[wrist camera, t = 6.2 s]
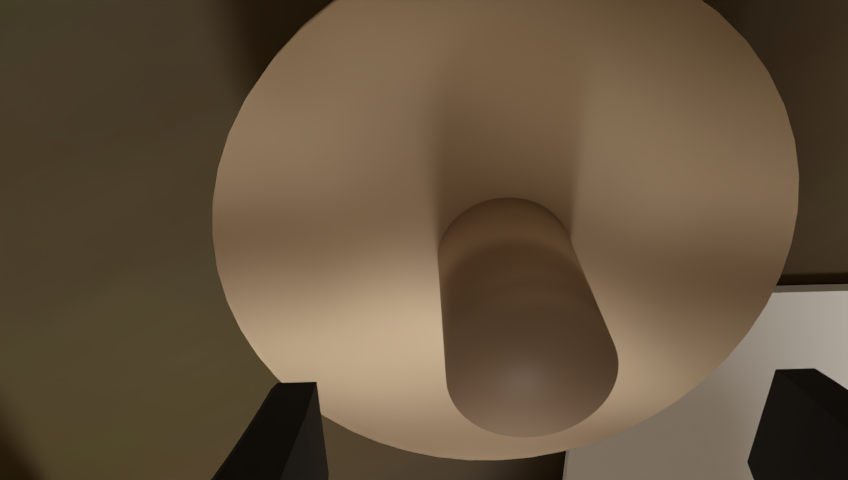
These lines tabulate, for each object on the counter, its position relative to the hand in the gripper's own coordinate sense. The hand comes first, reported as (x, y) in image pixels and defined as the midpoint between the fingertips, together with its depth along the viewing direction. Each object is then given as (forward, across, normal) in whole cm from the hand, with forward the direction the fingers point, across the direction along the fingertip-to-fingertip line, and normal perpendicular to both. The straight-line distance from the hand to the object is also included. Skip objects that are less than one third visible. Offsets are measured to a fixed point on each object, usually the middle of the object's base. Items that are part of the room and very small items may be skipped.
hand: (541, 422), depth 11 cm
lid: (+6, 0, 0) cm, 6 cm away
